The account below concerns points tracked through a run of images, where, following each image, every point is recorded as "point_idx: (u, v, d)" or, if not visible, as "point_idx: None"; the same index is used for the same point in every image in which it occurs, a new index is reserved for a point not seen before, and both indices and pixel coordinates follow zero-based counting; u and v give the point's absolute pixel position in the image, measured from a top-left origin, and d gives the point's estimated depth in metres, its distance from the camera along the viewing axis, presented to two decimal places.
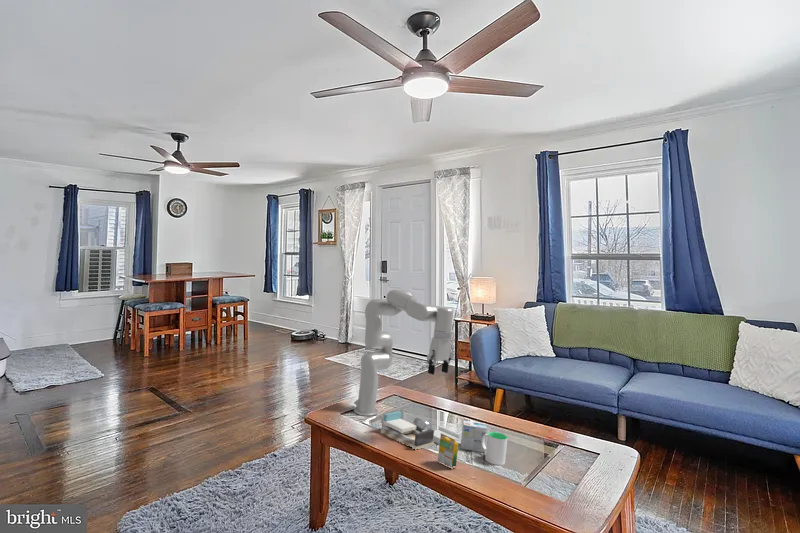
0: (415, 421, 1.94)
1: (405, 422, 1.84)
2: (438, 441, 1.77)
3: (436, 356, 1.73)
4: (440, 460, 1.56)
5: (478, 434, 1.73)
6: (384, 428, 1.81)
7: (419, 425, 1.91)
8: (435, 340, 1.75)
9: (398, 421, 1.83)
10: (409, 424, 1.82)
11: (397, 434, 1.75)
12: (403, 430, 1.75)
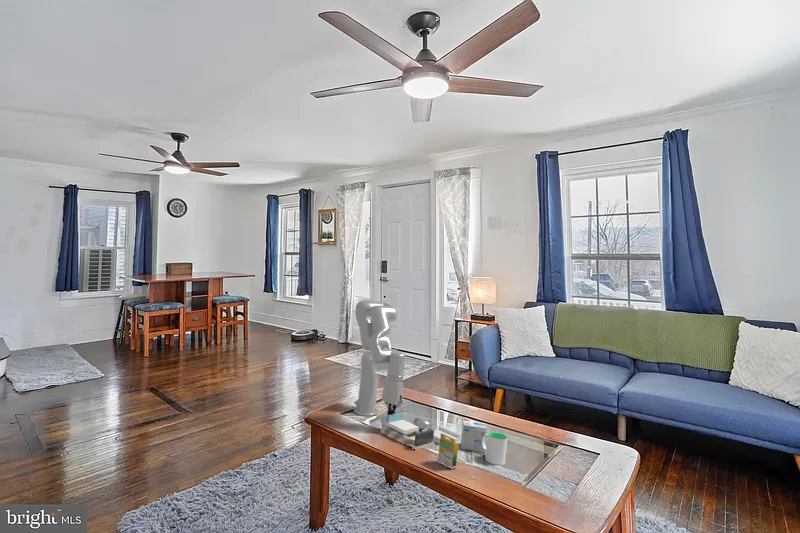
0: (415, 421, 1.94)
1: (408, 423, 1.82)
2: (438, 441, 1.77)
3: (402, 400, 1.85)
4: (440, 460, 1.56)
5: (478, 434, 1.73)
6: (384, 428, 1.81)
7: (419, 425, 1.91)
8: (401, 385, 1.84)
9: (401, 423, 1.82)
10: (412, 425, 1.80)
11: (397, 434, 1.75)
12: (406, 431, 1.74)
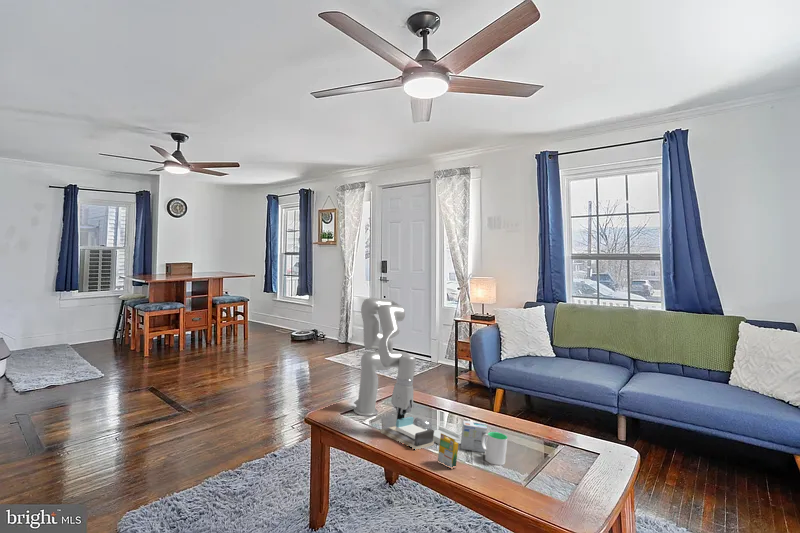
0: (415, 421, 1.94)
1: (418, 428, 1.78)
2: (438, 441, 1.77)
3: None
4: (440, 460, 1.56)
5: (478, 434, 1.73)
6: (384, 428, 1.81)
7: (419, 425, 1.91)
8: (411, 389, 1.80)
9: (411, 427, 1.78)
10: (422, 430, 1.76)
11: (397, 434, 1.75)
12: None
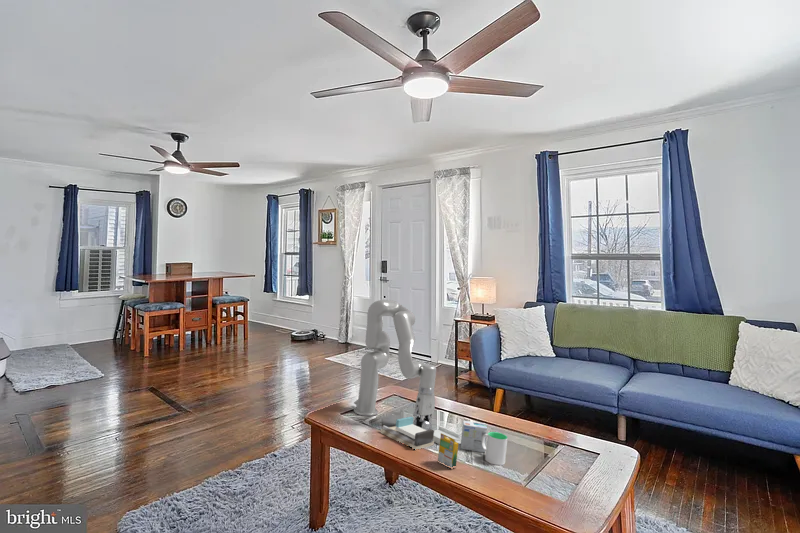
0: (415, 421, 1.94)
1: (418, 428, 1.78)
2: (438, 441, 1.77)
3: None
4: (440, 460, 1.56)
5: (478, 434, 1.73)
6: (384, 428, 1.81)
7: None
8: None
9: (411, 427, 1.78)
10: (422, 430, 1.76)
11: (397, 434, 1.75)
12: None
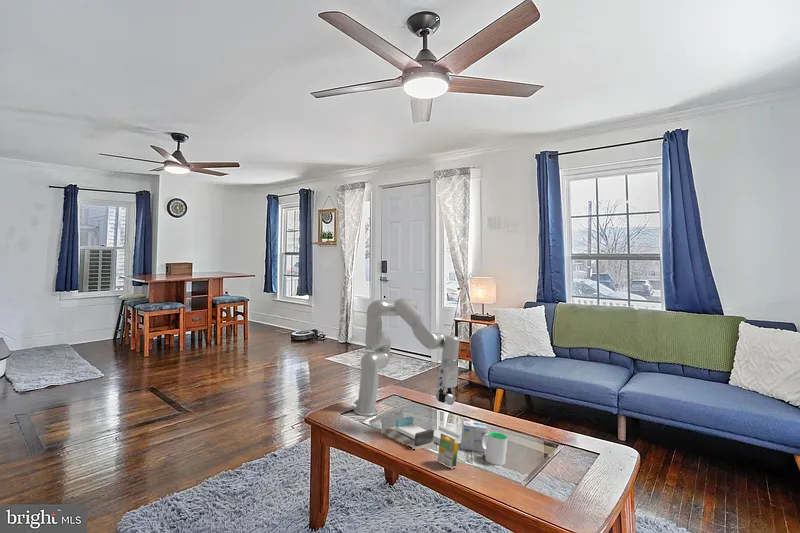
0: (438, 394, 1.86)
1: (418, 428, 1.78)
2: (438, 441, 1.77)
3: None
4: (440, 460, 1.56)
5: (478, 434, 1.73)
6: (384, 428, 1.81)
7: None
8: None
9: (411, 427, 1.78)
10: (422, 430, 1.76)
11: (397, 434, 1.75)
12: None
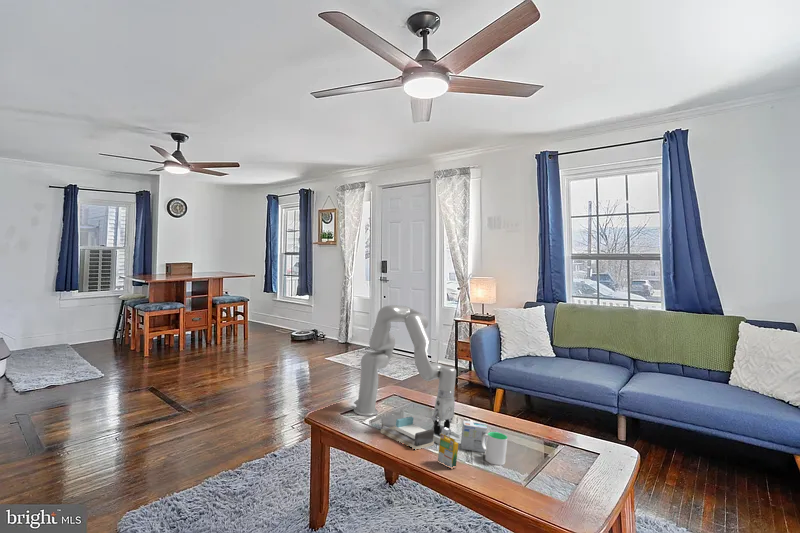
0: None
1: (418, 428, 1.78)
2: (438, 441, 1.77)
3: None
4: (440, 460, 1.56)
5: (478, 434, 1.73)
6: (384, 428, 1.81)
7: None
8: None
9: (411, 427, 1.78)
10: (422, 430, 1.76)
11: (397, 434, 1.75)
12: None
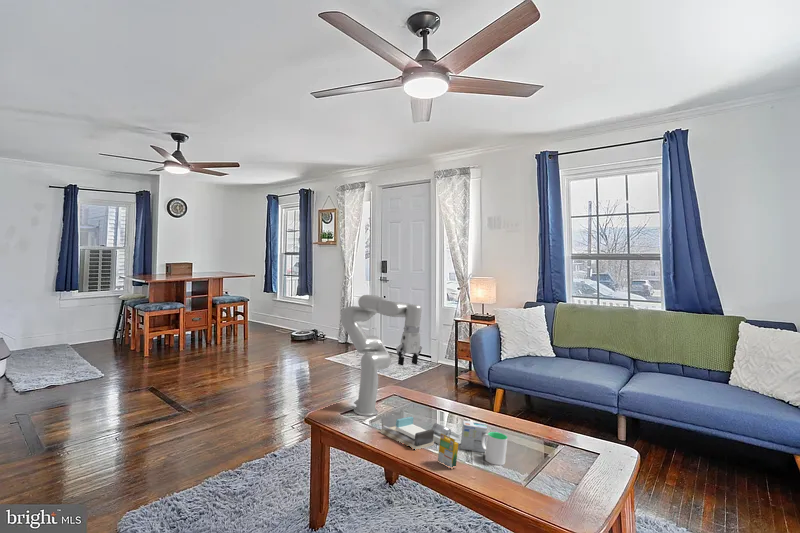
0: (434, 427, 1.85)
1: (418, 428, 1.78)
2: (438, 441, 1.77)
3: None
4: (440, 460, 1.56)
5: (478, 434, 1.73)
6: (384, 428, 1.81)
7: (438, 431, 1.83)
8: None
9: (411, 427, 1.78)
10: (422, 430, 1.76)
11: (397, 434, 1.75)
12: None
